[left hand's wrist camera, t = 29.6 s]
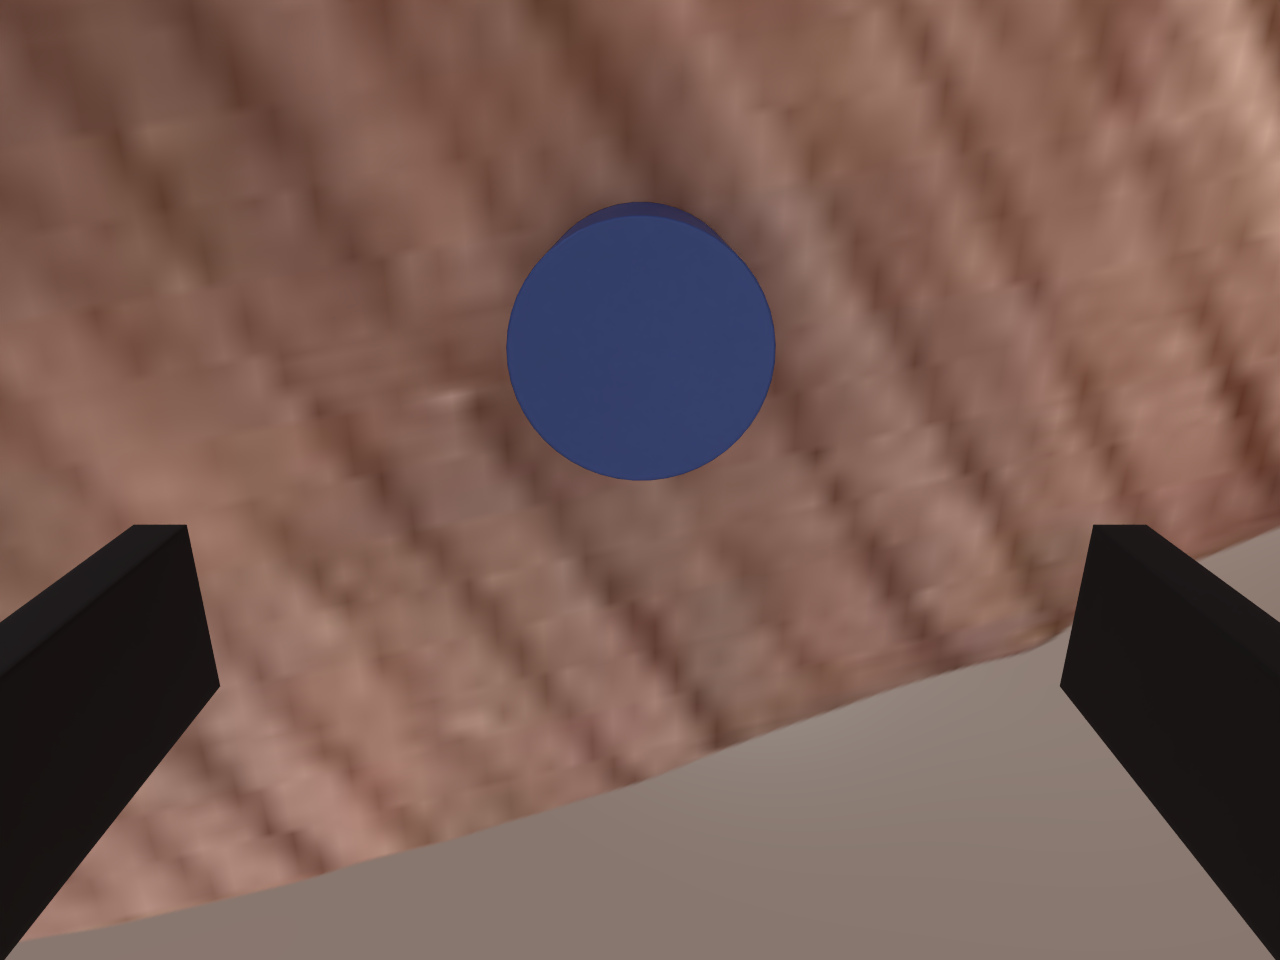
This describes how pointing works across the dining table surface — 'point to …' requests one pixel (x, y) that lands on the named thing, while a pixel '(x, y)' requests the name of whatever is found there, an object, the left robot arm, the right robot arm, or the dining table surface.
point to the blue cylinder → (640, 343)
